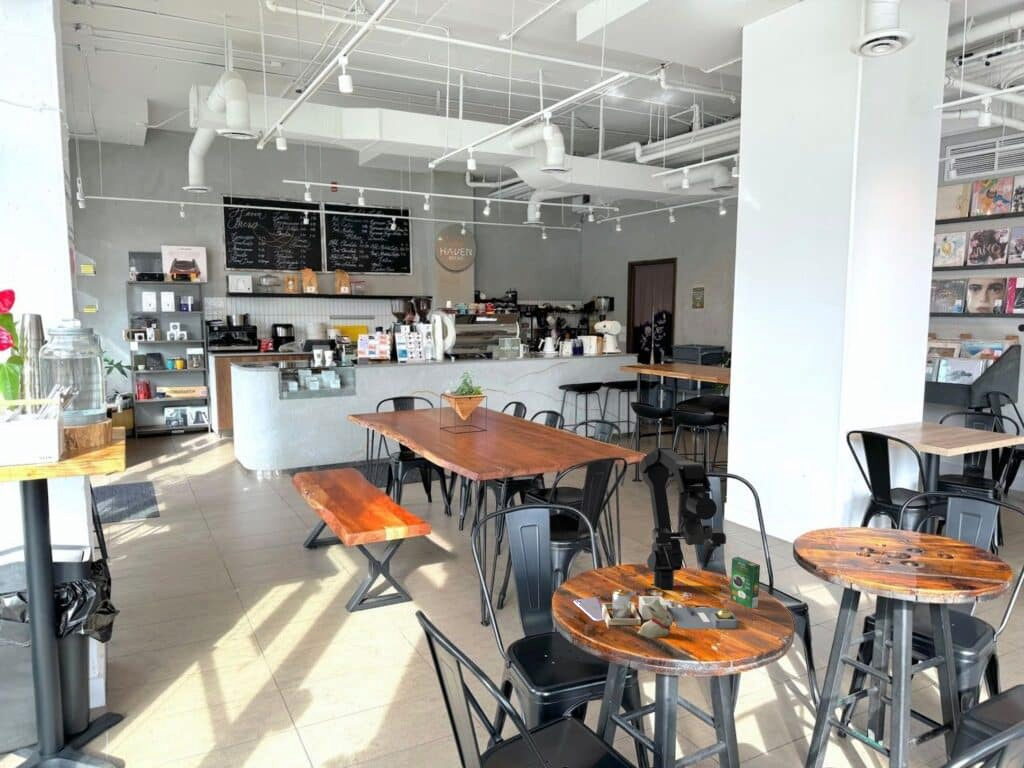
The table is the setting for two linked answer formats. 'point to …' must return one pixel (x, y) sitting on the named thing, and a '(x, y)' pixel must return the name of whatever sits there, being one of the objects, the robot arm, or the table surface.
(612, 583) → the table surface
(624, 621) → the beige shallow rectangular frame
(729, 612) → the button
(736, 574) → the coffee box
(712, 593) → the table surface
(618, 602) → the cylinder
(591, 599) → the mobile phone
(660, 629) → the chocolate bunny
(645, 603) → the cup
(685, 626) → the grey board with socket
